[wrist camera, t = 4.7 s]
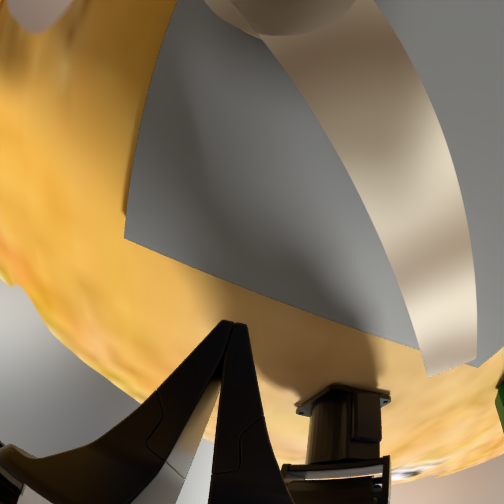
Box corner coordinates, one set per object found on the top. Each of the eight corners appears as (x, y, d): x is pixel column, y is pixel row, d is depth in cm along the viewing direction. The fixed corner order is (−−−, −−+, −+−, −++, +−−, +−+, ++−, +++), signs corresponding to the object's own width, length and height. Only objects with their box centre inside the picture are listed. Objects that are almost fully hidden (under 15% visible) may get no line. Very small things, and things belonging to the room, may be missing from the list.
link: (199, -16, 6) (139, -50, 3) (299, -69, 4) (292, -129, 1) (412, 344, 15) (423, 405, 11) (471, 320, 13) (491, 379, 10)
